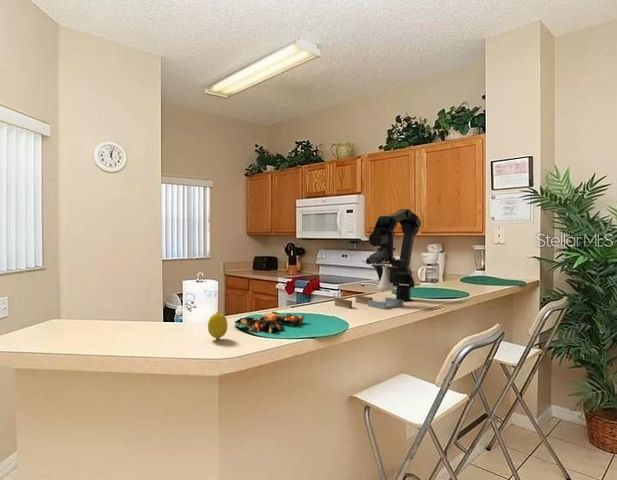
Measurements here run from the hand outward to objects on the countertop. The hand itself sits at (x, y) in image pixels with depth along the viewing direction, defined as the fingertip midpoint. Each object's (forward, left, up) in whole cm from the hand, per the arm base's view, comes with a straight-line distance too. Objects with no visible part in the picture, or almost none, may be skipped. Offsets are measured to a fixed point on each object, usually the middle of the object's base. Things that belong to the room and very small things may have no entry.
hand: (386, 282), depth 169 cm
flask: (0, 0, -3) cm, 3 cm away
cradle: (0, 0, -10) cm, 10 cm away
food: (+57, -1, -11) cm, 58 cm away
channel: (+10, -9, -10) cm, 17 cm away
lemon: (+80, +6, -10) cm, 80 cm away
